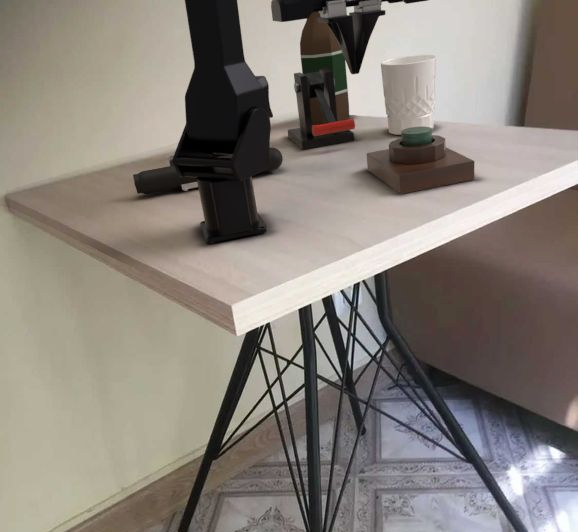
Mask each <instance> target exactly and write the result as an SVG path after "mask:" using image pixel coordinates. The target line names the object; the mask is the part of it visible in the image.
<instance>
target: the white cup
mask: <svg viewBox="0 0 578 532" xmlns="http://www.w3.org/2000/svg"><path fill="white" fill-rule="evenodd" d="M436 61H437V57H436V56H435V55H434V54H416V55H414V54H413V55H405V56H399V57H393V58H389V59H385V60H383V61H381V62H380V71H381V81H382V91H383V98H384V107H385V113H386V118H387V126H388V127H387V128H388V133H389V134H391V135H395V136H396V135H398V136H401V131H402V130H404V129H407V128H411V127H430V128H432V130H433V129H434V127H435V126H434V125H435V124H434V121H435V120H434V116H435V115H434V114H435V111H434V110H435V106H436V104H435V102H436V70H437V69H436V67H437V65H436V64H437V63H436Z"/></svg>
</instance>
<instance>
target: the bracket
mask: <svg viewBox="0 0 578 532" xmlns="http://www.w3.org/2000/svg"><path fill="white" fill-rule="evenodd" d="M319 71H320V74H321V77H322V79H323V81H324V96H325V98H326V101H327V103H328V105H329V107H330V109H331V112H332V114H333V116H334V118H335V121H338V119H337V108H336V97H335V80H334V75H333V71H331V70H329V69H326V68H323V69H319ZM293 79H294V84H293V89H294V93H295V96H296V104H297V114H298V121H299V127H296V128H291V129H287V137H288V139H290V140H291V141H292V142H293V143H294V144H295V145H297V147H299V148H300V149H301V150H303V151H304V150H309V149H314V148H320V147H326V146H330V145H336V144H343V143H348V142H353V141H355V136H354V134H355V133H354V132H353V131H352V130H346V131H340V132H335V133H329V134H324V135H318V136H313V133H312V126H314V125H315V124H312V118H311V109H310V100H309V91H308V82H307V75H304V74H303V73H302V72H294V73H293ZM324 121H325V119H324ZM325 123H326V121H325ZM325 123H323V124H325ZM317 125H320V124H317Z"/></svg>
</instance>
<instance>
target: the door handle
mask: <svg viewBox="0 0 578 532" xmlns="http://www.w3.org/2000/svg"><path fill="white" fill-rule="evenodd" d="M173 156H174V155H170V156H169V158H170V160H168V162H169V165H168V166H162V167H158V168H152V169H147V170H142V171H139V172H138V173H135V174H133V173H132V177H133V184H134V187H135V191H136V194H137V195H139V194H143V195H150V194H157V193H161V192H167V191H171V190H177V189H181V190H182V191H184V192H187V191H189V189H195V188H198V183H197V178H196V177H179V175H178V173H177V171H176V169H175V167H174V165H173V163H172V159H173ZM212 157H217V158H232V155H222V154H212ZM283 161H284V158H283V153H282V152H281V151H280V150H279V149H278V148H276V147H273V146H272V147H270V146H269V160H268V169H266V170H264V171H262V172H260V173H261V174H262V173H265V172H270V171H275V170H278V169H279V168H280V167H281V166H282V164H283ZM260 173H259V174H260Z"/></svg>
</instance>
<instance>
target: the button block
mask: <svg viewBox="0 0 578 532" xmlns="http://www.w3.org/2000/svg"><path fill="white" fill-rule="evenodd" d="M365 156H366V166H367V167H366V168H367V171H368V172H369V173H371V174H372V175H374V176H375V177H377V178H378V180H381V181H382V182H383V183H385V184H386V185H387V186H389V187H390V188H391V189H394V191H396V192H397V193H399V194H400V195H403V194H408V193H413V192H417V191H418V192H419V191H423V190H428V189H433V188H439V187H443V186H448V185H449V186H450V185H454V184H460V183H465V182H470V181H474V180H475V160H473V159H471V158H469V157H467V156H465V155H464V154H461V153H459V152H457V151H455V150H453V149H450V148H449V147H446V138H445V137H443V136H441V135H439V134H438V135H437V134H432V143H430V144H427V145H421V146H402V142H401V137H399V138H396V139H394V140H391V141H390V143H389V144H388V148H387V149H382V150H381V149H380V150H377V151H371V152H366V155H365Z"/></svg>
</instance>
